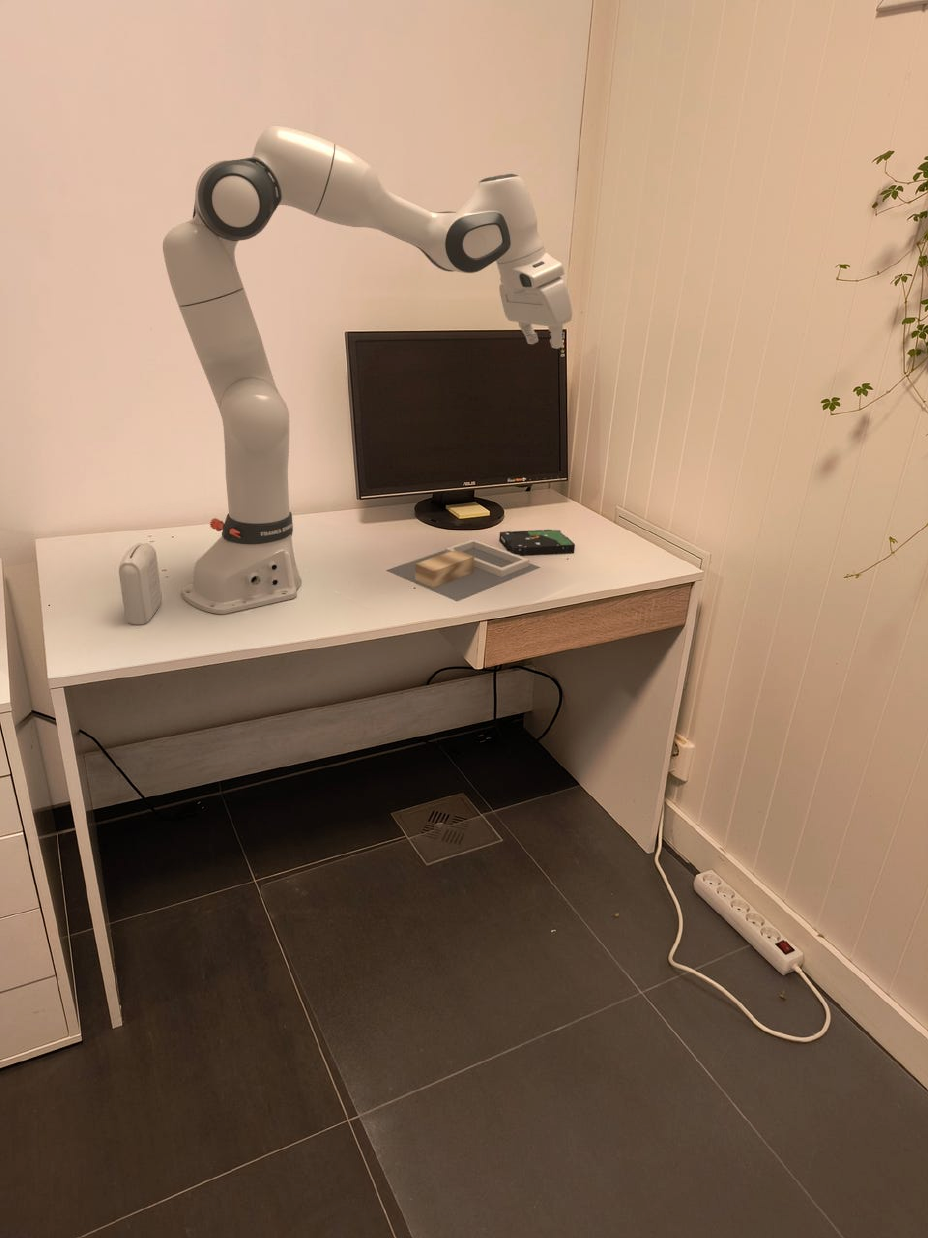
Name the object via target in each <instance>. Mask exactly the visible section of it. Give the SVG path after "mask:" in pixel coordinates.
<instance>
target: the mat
mask: <svg viewBox="0 0 928 1238" xmlns="http://www.w3.org/2000/svg"><path fill="white" fill-rule="evenodd" d="M454 550H459V551H461V552H464V553H467V554H469V555H472V556H474V571H473V573H470V574H468V575H465V576H462V577H460V578H457V579H454V580H452V581H449V582H446V583H444V584H441V585H438V586H436V587H433V588H432V587H430V586H428V585H425V584H423V583H421V582H418V581H416V580H415V564H416V563H419V562H422V561H425V560H428V559H431V558H434V557H437V556H440V555H443V554H446V553H448V552H451V551H454ZM540 568H541V566H538V565H536V564H533V563H531V562H530V559H529V558H526V557H524V556H520V555H515V554H512V553H511V552H509V551H507V550H504V549H501V548H499V547H497V546H493V545H490V544H487V543H484V542H482V541H479V540H477V539H474V538H473V539H469V540H467V541H464V542H461V543H458V544H455V545H452V546H449V547H446V548H445V550H442V551H439V552H436V553H433V554H430V555H427V556H424V557H421V558H418V559H415V560H412V561H410V562H409V561H408V562H406V563H403V564H400V565H397V566H394V567H392V568H388V569H386V570H385V571H386V572H388V573H391V574H393V575H395V576H397V577H400V578H403V579H405V580H406V581H407V580H408V581H410V582H411V583H414V584H416V585H418V586H421V587H423V588H425V589H427V590H430V591H432V592H435V593H436V594H439V595H441V596H444V597H445V598H448V599H451V600H453V601H455V602H458V601H462V600H464V599H466V598H469V597H471V596H474V595H476V594H479V593H482V592H483V591H486V590H489V589H491V588H493V587H496V586H498V585H501V584H504V583H506V582H508V581H511V580H513V579H516V578H518V577H520V576H521V577H522V575H525V574H528V573H530V572H533V571H536V570H538V569H540Z"/></svg>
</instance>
